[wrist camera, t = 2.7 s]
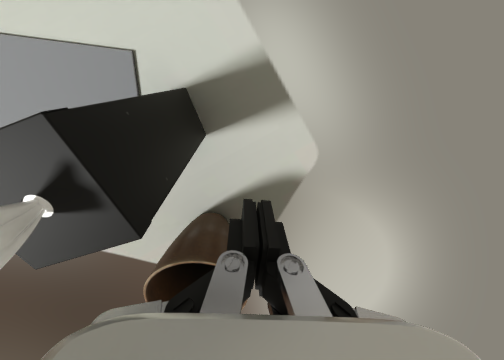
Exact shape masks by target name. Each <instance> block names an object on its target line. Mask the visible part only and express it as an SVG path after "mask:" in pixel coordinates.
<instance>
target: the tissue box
mask: <svg viewBox="0 0 504 360" xmlns="http://www.w3.org/2000/svg"><path fill="white" fill-rule="evenodd" d="M205 136H206V133H205V131H204V129H203V127H202V124H201V122H200V120H199V117H198V115H197V113H196V111H195V108H194V106H193V104H192V101H191V99H190V97H189V95H188V92H187V90H186V88H181V89H175V90H170V91H164V92H159V93H153V94H147V95H142V96H136V97H131V98H125V99H119V100H114V101H108V102H103V103H97V104H91V105H86V106H80V107H75V108H69V109H68V107H66V108H60V109H54V110H48V111H42V112H39V113H37V114H34V115H32V116H29V117H27V118H24V119H21V120H19V121H16V122H14V123H11V124H9V125H6V126H4V127H1V128H0V269H1V268H2V267H3V266H4V265H5V264H6V263H7V262H8V261H9V260H10V259H11V258H12V257H13V256H14V254H17V255H18V256H19V257H20V258H22V259H23V260H24V261H25V262H27V263H28V264H29V265H30V266H32V267H33V268H34V269H39V268H43V267H46V266H50V265H53V264H57V263H60V262H63V261H67V260H70V259H74V258H77V257H81V256H84V255H87V254H91V253H94V252H98V251H101V250H105V249H108V248H111V247H115V246H118V245H122V244H125V243H128V242H132V241H135V240H139V239H141V238H142V237H143V235H144V234H145V232H146V231H147V229H148V227H149V226H150V224H151V222H152V221H151V220H152V219H153V217H154V216H155V214H156V212H157V211H158V209H159V208H160V206H161V205H162V203H163V202H164V200H165V198H166V197H167V195H168V194H169V192H170V191H171V189H172V187H173V186H174V184H175V183H176V181H177V180H178V178H179V176H180V175H181V173H182V172H183V170H184V169H185V167H186V166H187V164H188V162H189V161H190V159H191V158H192V156H193V155H194V153H195V151H196V150H197V148H198V147H199V145H200V144H201V142H202V141H203V139H204V137H205Z"/></svg>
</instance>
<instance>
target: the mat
mask: <svg viewBox="0 0 504 360" xmlns="http://www.w3.org/2000/svg"><path fill="white" fill-rule="evenodd" d="M136 96H139V93H138V86H137V79H136V71H135V64H134V57H133V51H128V50H120V49H112V48H105V47H97V46H89V45H82V44H74V43H66V42H58V41H51V40H43V39H35V38H28V37H20V36H12V35H4V34H0V128H1V127H4V126H6V125H9V124H11V123H14V122H16V121H19V120H21V119H24V118H27V117H29V116H32V115H34V114H37V113H39V112H42V111H48V110H54V109H60V108H66V107H68V109H69V108H75V107H80V106H86V105H91V104H97V103H103V102H108V101H114V100H119V99H125V98H131V97H136Z"/></svg>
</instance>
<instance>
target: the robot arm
mask: <svg viewBox="0 0 504 360" xmlns="http://www.w3.org/2000/svg"><path fill="white" fill-rule="evenodd" d="M254 279H255V289H258V290H259V295H260V296H263V298H264V299H265V300H266V301H267V302H268V310H269V314H270V315H256V314H241V310H242V304H243V303H244V302H245V301H246V300H247V299H248V298H249V297H250V293H251V289H253V285H254ZM41 360H481V359H480V358H479V357H478V356H477V355H476V354H474V353H473V352H472V351H471V350H470V349H469V348H467V347H466V346H465V345H463V344H462V343H460V342H459V341H456V340H455V339H453V338H451V337H449V336H447V335H445V334H443V333H440V332H438V331H435V330H433V329H430V328H428V327H424V326H421V325H417V324H413V323H408V322H406V321H404V320H402V319H400V318H398V317H394V316H390V315H386V314H383V313H379V312H375V311H372V310H367V309H364V308H360V307H355V309H354V308H352V307H351V306H350V305H349V304H348V303H347V302H345V301H344V300H343V299H341V298H340V297H339V296H337V295H336V294H334V293H333V292H332V291H330V290H329V289H328V288H326V287H325V286H323V285H322V284H321V283H319V282H318V281H316V280H315V279H314V278H313V277H312V275H311V273H310V271H309V269H308V267H307V265H306V264H305V262H304V260H302V259H301V258H300V257H299V256H297V255H294V254H291V252H290V249H289V246H288V241H287V238H286V234H285V230H284V226H283V223H282V222H275V219H274V215H273V210H272V206H271V201H266V200H261V202H258V205H257V211H256V202H253V200H252V199H244V200H243V209H242V219H241V220H240V219H230V223H229V233H228V242H227V251H226V252H224V253H222V254H221V255H220V256H219V258H218V260H217V263H216V266H215V268H214V269H212V270H211V271H210V272H208V273H207V274H205V275H204V276H202V277H201V278H199V279H198V280H197V281H195V282H194V283H192V284H191V285H189V286H188V287H187V288H185V289H184V290H182V291H181V292H179V293H178V294H176V295H175V296H174V297H173V298H172V299H170V301H166V302H162V300H158V301H152V302H147V303H142V304H136V305H132V306H126V307H121V308H115V309H111V310H108V311H106V312H104V313H102V314H101V315H100V316H98V317H97V318H96V319H95V320H94V321H93V322H92V324H91V325H90V326H87V327H85V328H83V329H81V330H79V331H77V332H75V333H73V334H71V335H69V336H68V337H66V338H65V339H63V340H62V341H60V342H59V343H58V344H57V345H55V346H54V347H53V348H52V349H51V350H50V351H49V352H48V353H47V354H46V355H45V356H44V357H43V358H42V359H41Z"/></svg>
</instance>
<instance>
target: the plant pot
mask: <svg viewBox="0 0 504 360" xmlns="http://www.w3.org/2000/svg"><path fill="white" fill-rule="evenodd" d="M228 233H229V223H228V221H227V220H226V219H225V218H224V217H223V216H222V215H220V214H217V213H213V212H208V213H204V214H201V215H200V216H198V217H197V218H196V219H195V220H194V221H192V222H191V223H190V224H189V225H188V226H187V227H186V228H185V229H184V230H183V231H182V232H181V234H180V235H179V236H178V237H177V238H176V239H175V241H174V242H173V243H172V244H171V245H170V247H169V248H168V249H167V251H166V252H165V254H164V255H163V256H162V258H161V259H160V261H159V262H158V264H157V265H156V267H155V268H154V270H153V272H152V273H151V275H150V276H149V278H148V279H147V281H146V283H145V285H144V298H145V300H146V303H147V302H152V301H158V300H162V302H166V301H170V299H172V298H173V297H174V296H175V295H176V294H178V293H179V292H181V291H182V290H184V289H185V288H187V287H188V286H189V285H191V284H192V283H194V282H195V281H197V280H198V279H199V278H201V277H202V276H204V275H205V274H207V273H208V272H210V271H211V270H212V269H214V268H215V266H216V263H217V260H218V258H219V256H220V255H221V254H222V253H224V252H226V251H227V242H228ZM246 302H247V300H246V301H245V302H244V303H243V304H242V309H243V307H244V306H245V305H246Z"/></svg>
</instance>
